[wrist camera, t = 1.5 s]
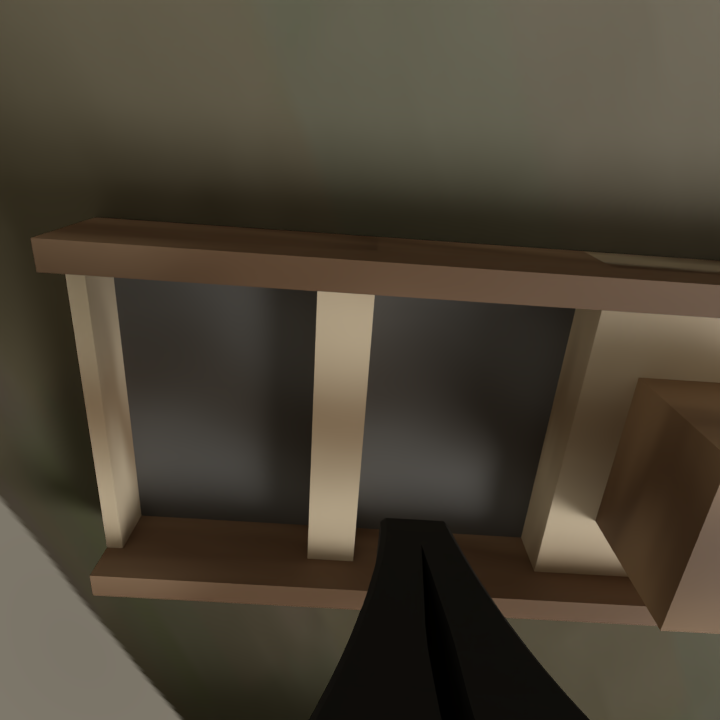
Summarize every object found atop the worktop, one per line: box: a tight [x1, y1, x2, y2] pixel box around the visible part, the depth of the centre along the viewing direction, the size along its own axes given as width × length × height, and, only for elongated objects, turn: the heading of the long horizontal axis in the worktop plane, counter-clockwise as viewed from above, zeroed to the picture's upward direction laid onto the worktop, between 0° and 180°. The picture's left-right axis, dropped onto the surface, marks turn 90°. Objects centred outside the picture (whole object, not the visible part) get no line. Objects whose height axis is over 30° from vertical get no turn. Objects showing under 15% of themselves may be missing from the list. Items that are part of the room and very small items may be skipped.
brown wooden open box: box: [31, 217, 720, 626], centre depth 16 cm, size 11×30×4 cm, turn 86°
